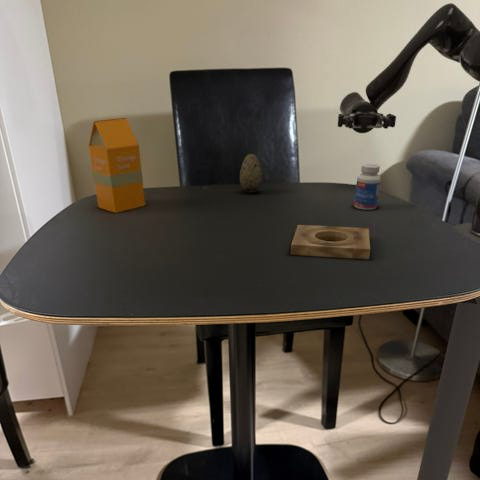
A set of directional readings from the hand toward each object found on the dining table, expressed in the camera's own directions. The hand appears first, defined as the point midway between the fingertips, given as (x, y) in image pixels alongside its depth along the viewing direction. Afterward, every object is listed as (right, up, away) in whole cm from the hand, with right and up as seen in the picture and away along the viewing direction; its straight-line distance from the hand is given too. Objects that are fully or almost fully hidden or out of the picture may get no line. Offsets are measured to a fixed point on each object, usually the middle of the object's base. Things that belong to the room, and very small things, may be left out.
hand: (368, 123), depth 117 cm
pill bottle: (-1, -21, -1) cm, 21 cm away
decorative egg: (-28, -13, +13) cm, 34 cm away
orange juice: (-61, -20, +2) cm, 64 cm away
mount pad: (-14, -34, -25) cm, 44 cm away
